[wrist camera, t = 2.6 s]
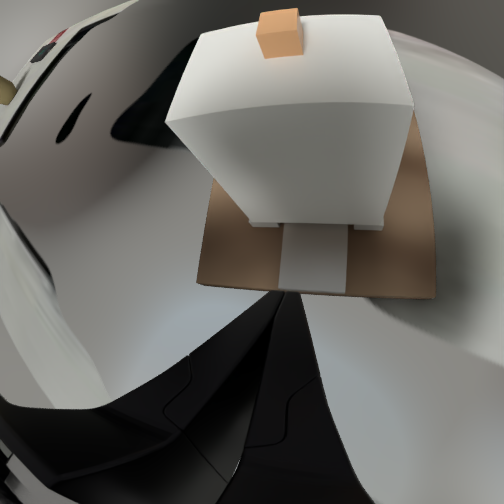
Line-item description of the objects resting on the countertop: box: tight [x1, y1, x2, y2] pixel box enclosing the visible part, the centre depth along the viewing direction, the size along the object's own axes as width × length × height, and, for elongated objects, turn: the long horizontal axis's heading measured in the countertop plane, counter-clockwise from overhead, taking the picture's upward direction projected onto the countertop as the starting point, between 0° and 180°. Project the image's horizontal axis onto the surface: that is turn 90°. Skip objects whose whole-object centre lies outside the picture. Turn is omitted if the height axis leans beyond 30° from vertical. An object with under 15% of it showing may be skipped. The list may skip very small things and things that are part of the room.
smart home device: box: [30, 42, 56, 63], centre depth 61 cm, size 8×2×20 cm
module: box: [165, 8, 414, 231], centre depth 11 cm, size 5×7×11 cm
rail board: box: [196, 110, 436, 299], centre depth 16 cm, size 18×14×4 cm
